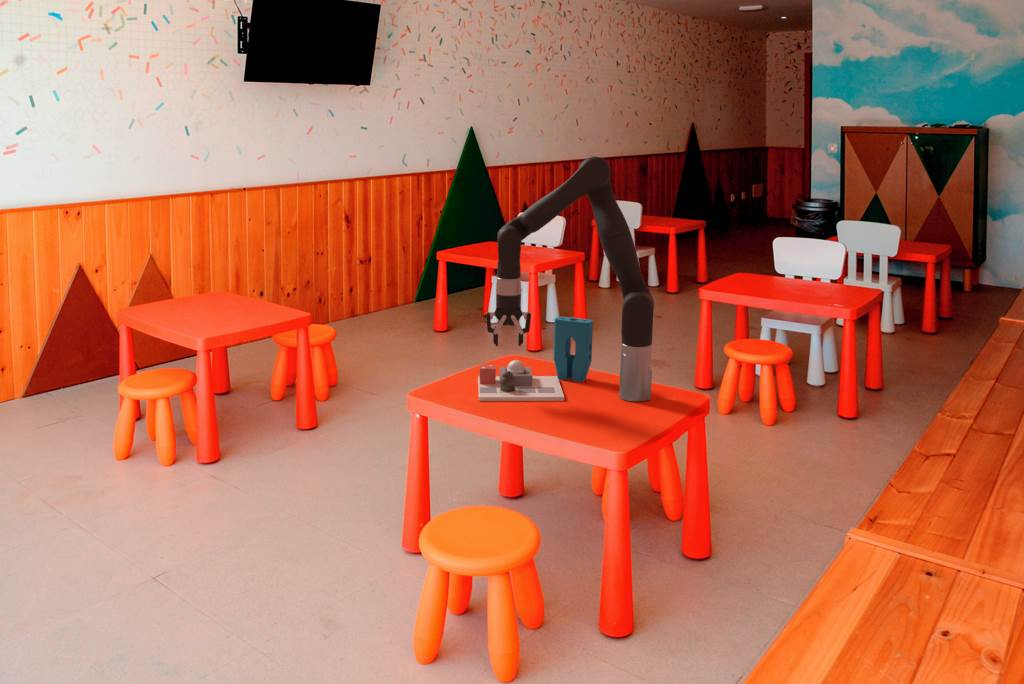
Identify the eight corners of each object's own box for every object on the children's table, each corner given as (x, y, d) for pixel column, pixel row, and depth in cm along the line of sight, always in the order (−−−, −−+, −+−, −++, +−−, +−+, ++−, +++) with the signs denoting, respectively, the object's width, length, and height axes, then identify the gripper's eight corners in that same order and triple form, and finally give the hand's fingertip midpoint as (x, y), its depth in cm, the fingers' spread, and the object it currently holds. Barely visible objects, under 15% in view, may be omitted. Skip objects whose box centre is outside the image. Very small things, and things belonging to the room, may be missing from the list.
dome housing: (530, 377, 296) (530, 366, 295) (532, 386, 286) (532, 375, 285) (499, 377, 295) (499, 366, 294) (500, 386, 285) (500, 375, 285)
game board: (557, 379, 297) (557, 375, 297) (564, 400, 276) (564, 396, 276) (477, 379, 296) (477, 376, 296) (478, 401, 275) (478, 396, 274)
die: (495, 379, 293) (495, 364, 291) (495, 384, 288) (495, 368, 286) (479, 379, 292) (479, 364, 291) (479, 384, 287) (479, 368, 286)
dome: (523, 373, 293) (524, 357, 292) (524, 378, 287) (525, 362, 286) (506, 373, 293) (506, 357, 291) (507, 378, 287) (507, 362, 286)
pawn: (514, 387, 284) (514, 369, 282) (514, 392, 280) (515, 373, 278) (500, 387, 284) (500, 369, 282) (500, 392, 279) (500, 373, 278)
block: (591, 379, 298) (593, 320, 293) (586, 383, 294) (588, 323, 289) (557, 374, 303) (559, 316, 298) (552, 378, 299) (553, 319, 294)
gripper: (531, 289, 278) (530, 342, 282) (484, 289, 277) (484, 342, 281) (533, 294, 271) (532, 348, 275) (485, 294, 270) (484, 348, 274)
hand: (508, 345), depth 278 cm, fingers open, 6 cm apart
